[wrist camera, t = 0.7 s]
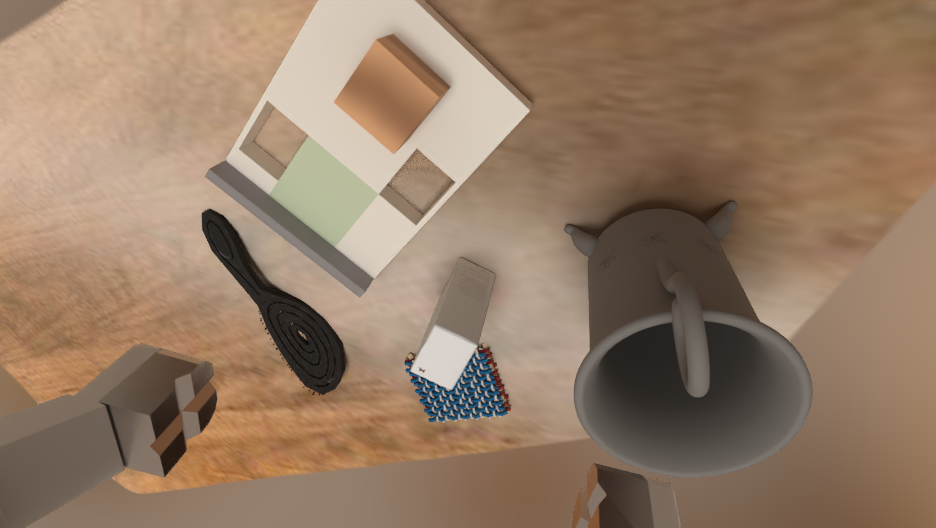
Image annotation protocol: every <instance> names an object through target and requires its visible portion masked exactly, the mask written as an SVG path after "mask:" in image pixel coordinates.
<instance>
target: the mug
mask: <svg viewBox="0 0 936 528" xmlns="http://www.w3.org/2000/svg"><path fill="white" fill-rule="evenodd" d="M736 209H737V203H735V202H729V203H727V204H726V205H724V206H723V207H722V208H721V209H720V210H719V212H718V213H717V214H716V215H715V216H713V217H712V218H711V219H709V220H708V221H707V222H705V223H703V222H702V221H700V220H699V219H697V218H695V217H693V216H691V215H689V214H687V213H684V212H681V211H677V210H672V209H647V210H642V211H638V212H634V213H631V214H629V215H627V216H624V217H622V218H620V219H619V220H617V221H615V222H614V223H613V224H611V225H610V226H609V227H608V228H607V229H605V230H604V231H603V233H602V234H601V235H600V236H599V237H598V238H597V237H595V236H593V235H590V234H588V233H586V232H583V231H582V230H580V229H578V228H577V227H574V226H572V225H567V226H566V227H565V229H564V230H565V232H566V233H568V234H570V235H571V237H572V240H573V242H574V244H575V246H576V247H577V249H578V250H579V251H580V252H581V253H583V254H584V255H586V256H588V257H589V260H588V291H589V329H590V351H589V353H588V354H587V355H586V357H585V358H584V360H583V362H582V363H581V365H580V367H579V370H578V372H577V375H576V379H575V384H574V403H575V408H576V412H577V415H578V418H579V420H580V422H581V424H582V426H583V428H584V429H585V431H586V432H587V434H588V435H589V436H590V437H591V438H592V439H593V441H594V442H595V443H596V444H598V445H599V446H600V447H601V448H602V449H604V450H605V451H606V452H607V453H609V454H610V455H612V456H613V457H615V458H617V459H618V460H620V461H622V462H624V463H626V464H628V465H630V466H633V467H636V468H638V469H641V470H644V471H648V472H651V473H655V474H660V475H666V476H673V477H709V476H717V475H723V474H727V473H731V472H736V471H739V470H742V469H745V468H748V467H750V466H753V465H755V464H757V463H760V462H762V461H764V460H765V459H767V458H769V457H771V456H772V455H774V454H775V453H777V452H778V451H779V450H781V449H782V448H783V447H784V446H786V445H787V444H788V443H789V442H790V441H791V440H792V439H793V437H794V436H795V435H796V434H797V433H798V431H799V430H800V428H801V427H802V425H803V424H804V422H805V420H806V418H807V416H808V413H809V410H810V407H811V402H812V381H811V377H810V374H809V371H808V368H807V366H806V364H805V362H804V360H803V359H802V357H801V355H800V354H799V352H798V351H797V350H796V348H795V347H794V346H793V345H792V344H791V343H790V342H789V341H788V340H787V339H786V338H785V337H784V336H782V335H781V334H780V333H778V332H777V331H775V330H774V329H772V328H771V327H769V326H767V325H765V324H763V323H761V322H760V321H759V319H758V317H757V315H756V313H755V311H754V310H753V308H752V306H751V304H750V302H749V300H748V298H747V296H746V294H745V292H744V290H743V288H742V286H741V284H740V282H739V280H738V278H737V276H736V275H735V273H734V271H733V269H732V267H731V265H730V263H729V261H728V259H727V257H726V255H725V253H724V251H723V249H722V247H721V245H720V243H719V241H720V240H721V239H722V238H724V237H725V235H726V234H727V233H728V231H729V230H730V227H731V224H732V212H733V211H734V210H736Z"/></svg>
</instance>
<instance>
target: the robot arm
mask: <svg viewBox="0 0 936 528" xmlns="http://www.w3.org/2000/svg"><path fill="white" fill-rule="evenodd" d="M213 376H214V371H213V366H212V363H209V362H207V361H203V360H200V359H197V358H193V357H190V356H187V355H183V354H180V353H176V352H173V351H170V350H166V349H162V348H159V347H155V346H151V345H148V344H144V343H141V344H138V345H135V346H133V347H132V348H131V349H129V350H128V351H127V352H126V353H125V354H123V355H122V356H121V357H120V358H119V359H117V360H116V361H115V362H114V363H113V364H112V365H110V366H109V367H108V368H107V369H106V370H104V371H103V372H102V373H101V374H100V375H98V376H97V377H96V378H95V379H94V380H92V381H91V382H90V383H89V384H88V385H86V386H85V387H84V388H83V389H82V390H81V391H79V392H78V393H77V394H76V395H75V396H72V395H68V394H67V395H64V396H61V397H58V398H56V399H53V400H50V401H47V402H44V403H42V404H39V405H36V406H33V407H31V408H28V409H25V410H22V411H19V412H16V413H14V414H11V415H8V416H5V417H2V418H0V528H25V527H27V526H28V525H30V524H32V523H34V522H35V521H37V520H39V519H40V518H42V517H44V516H46V515H47V514H49V513H51V512H53V511H54V510H56V509H58V508H60V507H61V506H63V505H65V504H66V503H68V502H70V501H72V500H73V499H75V498H77V497H79V496H80V495H82V494H83V493H85V492H87V491H89V490H91V489H92V488H94V487H96V486H98V485H99V484H101V483H103V482H105V481H106V480H108V479H110V478H112V477H113V476H115V475H117V474H118V473H120V472H122V471H124V470H125V468H129V469H133V470H137V471H141V472H145V473H149V474H153V475H157V476H161V477H166V475H167V474H168V473H169V472H170V470H171V469H172V468H173V467H174V466H175V464H176V463H177V462H178V461H179V459H180V458H181V457H182V456H183V455H184V453H185V452H186V451H187V440H188V439H190V438H192V437H194V436H196V435H198V434H200V433H201V432H202V431H203V430H204V429H205V427H206V426H207V425H208V423H209V422H210V420H211V418H212V416H213V413H214V411H215V409H216V403H217V392H216V389H215V388H214V387H213V386H212V384H211V383H210V382H209V380H210V379H211V378H212V377H213ZM124 467H125V468H124ZM572 528H681V525H680V520H679V515H678V510H677V504H676V499H675V494H674V489H673V487H672V486H671V484H670V483H668V482H664V481H660V480H657V479H653V478H649V477H645V476H642V475H639V474H635V473H631V472H627V471H623V470H619V469H615V468H611V467H607V466H603V465H599V464H595V463H594V464H593V465H592V466H591V467H590V469H589V471H588V473H587V486H584V487H582V488H581V489H580V492H579V494H578V496H577V499H576V503H575V507H574V511H573V520H572Z"/></svg>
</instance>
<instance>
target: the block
mask: <svg viewBox="0 0 936 528" xmlns="http://www.w3.org/2000/svg"><path fill="white" fill-rule="evenodd" d="M450 88H451V87H450V86H449V85H448V84H447V83H446V82H445V81H444V80H443V79H442V78H440V77H439V76H438V75H437V74H436V73H435V72H434V71H433V70H432V69H431V68H430V67H429V66H428V65H426V64H425V63H424V62H423V61H422V60H421V59H420V58H419V57H418V56H417V55H416V54H415V53H414V52H412V51H411V50H410V49H409V48H408V47H407V46H406V45H405V44H404V43H403V42H402V41H401V40H399V39H398V38H397V37H396V36H395V35H394V34H391V35H388V36H384V37H381V38H378V39H376V40H375V42H374V43H373V44H372V46H371V47H370V49H369V50H368V52H367V53H366V55H365V56H364V58H363V59H362V61H361V62H360V64H359V65H358V67H357V68H356V70H355V71H354V73H353V74H352V76H351V77H350V79H349V80H348V82H347V83H346V85H345V86H344V88H343V89H342V90H341V92H340V93H339V95H338V96H337V98H336V99H335V101H334V103H335V104H336V105H337V106H338V107H340V108H341V109H342V110H343V111H344V112H345V113H346V114H348V115H349V116H350V117H351V118H352V119H353V120H355V121H356V122H357V123H358V124H359V125H360V126H361V127H363V128H364V129H365V130H366V131H367V132H368V133H370V134H371V135H372V136H373V137H374V138H375V139H376V140H378V141H379V142H380V143H381V144H382V145H383V146H385V147H386V148H387V149H388V150H389V151H390V152H391V153H393V154H395V153H396V152H397V151H398V150H399V149H400V148H401V147H402V146H403V145H404V144H405V143H406V142H407V141H408V140H409V138H410V137H411V136H412V135H413V133H414V132H415V131H416V130H417V128H418V127H419V126H420V125H421V123H422V122H423V121H424V120H425V119H426V117H427V116H428V115H429V114H430V112H431V111H432V110H433V109H434V107H435V106H436V105H437V104H438V102H439V101H440V100H441V99H442V97H443V96H444V95H445V94H446V92H447V91H448V90H449V89H450Z"/></svg>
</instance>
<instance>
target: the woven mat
mask: <svg viewBox="0 0 936 528" xmlns="http://www.w3.org/2000/svg"><path fill="white" fill-rule="evenodd" d="M482 346H483V348H476V350H475V352H474V353H473V355H472V357H471V359H470V360H469V362H468V364H467V365H466V367H465V369H464V371H463V373H462V375H461V376H460V378H459V379H458V381H457V383H456V384H455V386H454V387H453V389H452V390H450V389H448V388H445V387H443V386H441V385H439V384H436V383H434V382H432V381H430V380H428V379H426V378H424V377H421V376H419V375H417V374H415V373H412V372H411V371H410V370H411V368H409V369H406V372H409V374H410V376H412V378H413V379H411V380H410V381H411V383H414V385H415V386H418V388H419V387H421V388H420V389H416V390H415V392H416V393H419V396H421V397H422V398H424V399H420V400H419V401H420V403H423V405H424V406H425V407H426V408H428V409H424V411H425V412H427V414H428V415H430V416H431V417H432V416H434V418H429V422H434V421H440V422H441V421H443V423H445V421H444V420H447V421H449V420H448V419H452V420H455V422H457V419H459V420H462V418H464V419H465V420H467V419H468V418H472V419H474V418H476V420H479V417H481V418H484V417H483V416H486V417H489V419H491V416H494V417H497V415H499V417H502V416H503V415H505V414H508V413H507V411H511V408H510V407H509V402H507V400H506V399H508V398H509V397H508V395H505V392H504V391H503V389H504V386H501V384H502V383H501V381H500V380H499V379H500V378H499V376H498V375H497V374H498V372H497V370H496V369H495V367H496V366H497V365H496V363H494V361H493V360H492V358H491V357H493V356H492V354H491V353H490V350H489V349H488V347H487V345H486V343H482ZM408 358H409V359H407V360H405V365H408V366H409V367H412V364H413V362H414V359H415V356H414V355H413V354H412V353H410V354H409V355H408ZM475 365H476V366H475ZM496 390H497V391H496ZM503 406H504V407H503ZM491 407H492V408H491ZM467 409H469V410H467ZM486 412H487V413H486ZM490 412H491V413H490ZM466 414H467V415H466Z"/></svg>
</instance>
